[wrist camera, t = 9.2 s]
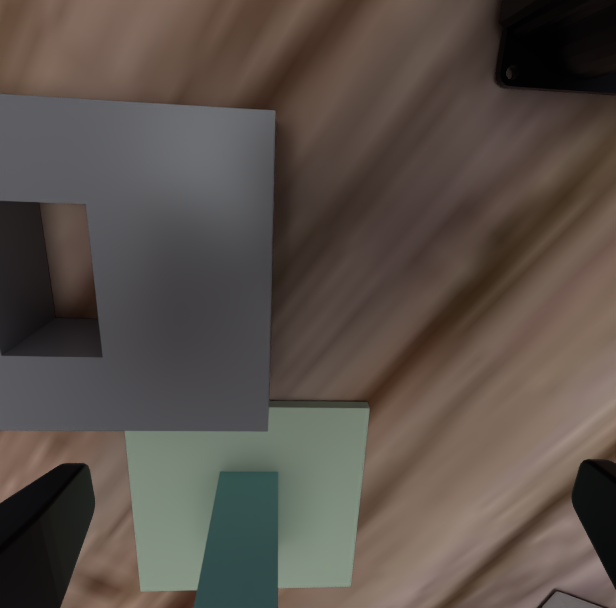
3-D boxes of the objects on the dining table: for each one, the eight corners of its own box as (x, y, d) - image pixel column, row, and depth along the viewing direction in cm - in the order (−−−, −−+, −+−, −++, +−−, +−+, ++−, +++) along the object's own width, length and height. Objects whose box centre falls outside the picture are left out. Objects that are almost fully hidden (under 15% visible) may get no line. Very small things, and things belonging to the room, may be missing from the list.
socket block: (276, 121, 17) (275, 110, 14) (269, 383, 21) (267, 431, 17) (-146, 96, 16) (-276, 76, 12) (-74, 378, 20) (-156, 429, 16)
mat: (367, 401, 22) (369, 408, 21) (348, 577, 26) (350, 586, 25) (126, 399, 21) (122, 406, 20) (144, 581, 25) (140, 591, 24)
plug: (278, 471, 22) (277, 665, 14) (275, 545, 24) (273, 761, 15) (219, 471, 22) (182, 668, 13) (220, 546, 24) (187, 765, 15)
